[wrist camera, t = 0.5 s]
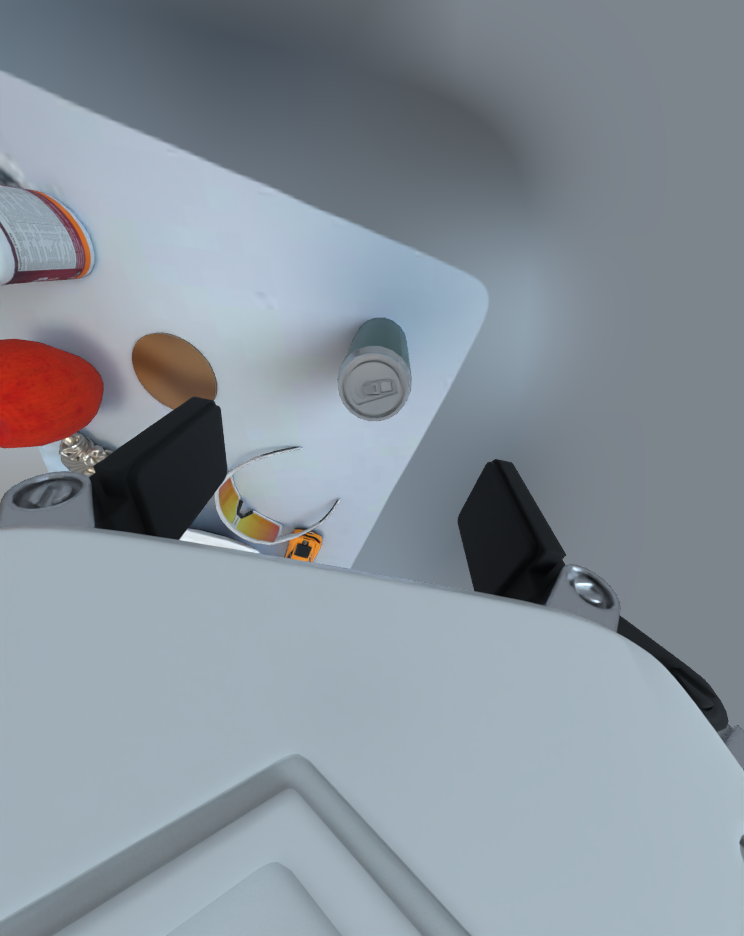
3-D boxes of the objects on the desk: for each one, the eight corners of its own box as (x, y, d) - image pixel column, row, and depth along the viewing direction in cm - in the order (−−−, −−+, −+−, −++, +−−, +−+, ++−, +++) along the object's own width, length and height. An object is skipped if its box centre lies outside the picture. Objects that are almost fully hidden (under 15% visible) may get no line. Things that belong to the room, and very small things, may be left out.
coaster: (123, 323, 30) (120, 324, 30) (211, 343, 31) (209, 343, 31) (146, 403, 36) (144, 404, 35) (221, 418, 36) (219, 419, 36)
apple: (55, 304, 30) (-112, 330, 20) (145, 383, 34) (45, 436, 24) (19, 359, 33) (-137, 404, 24) (104, 424, 38) (3, 484, 28)
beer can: (403, 311, 28) (407, 343, 18) (409, 367, 31) (415, 419, 22) (349, 321, 29) (326, 356, 19) (360, 374, 32) (344, 428, 22)
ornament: (141, 472, 43) (122, 488, 40) (101, 477, 44) (80, 494, 41) (101, 424, 38) (77, 438, 35) (58, 431, 39) (31, 445, 36)
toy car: (280, 563, 54) (274, 579, 51) (293, 521, 47) (286, 538, 44) (310, 571, 55) (306, 588, 52) (327, 531, 48) (323, 548, 45)
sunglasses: (206, 474, 42) (190, 495, 38) (294, 426, 39) (288, 444, 35) (269, 535, 49) (262, 559, 45) (348, 499, 46) (348, 521, 42)
